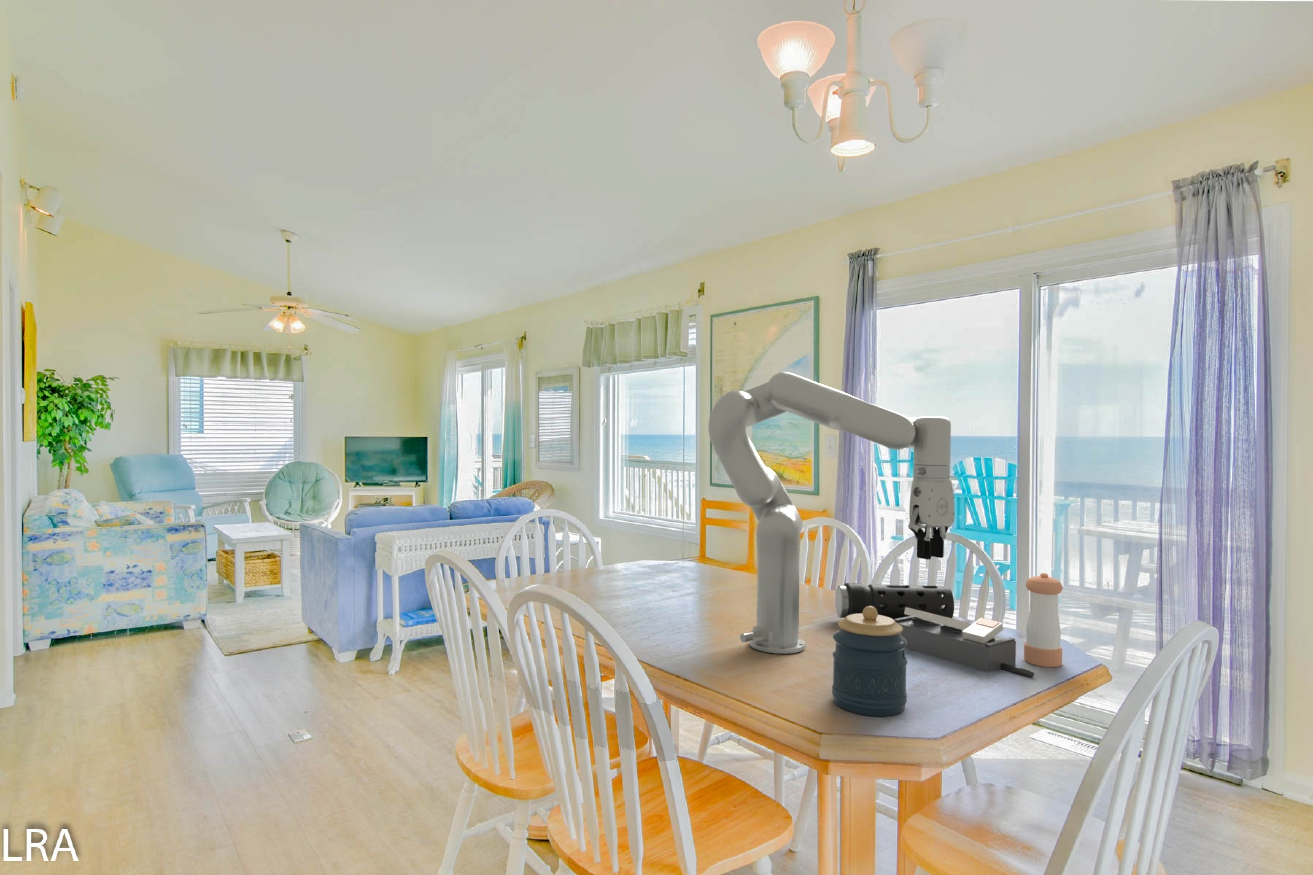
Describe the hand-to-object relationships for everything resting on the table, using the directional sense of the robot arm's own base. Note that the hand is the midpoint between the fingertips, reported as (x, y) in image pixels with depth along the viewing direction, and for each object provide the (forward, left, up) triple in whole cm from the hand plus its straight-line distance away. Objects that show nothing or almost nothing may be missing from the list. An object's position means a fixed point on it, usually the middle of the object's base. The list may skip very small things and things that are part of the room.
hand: (930, 556), depth 158 cm
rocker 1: (+8, +7, -15) cm, 19 cm away
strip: (+8, -3, -22) cm, 24 cm away
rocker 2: (+8, 0, -15) cm, 17 cm away
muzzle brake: (+18, +24, -23) cm, 38 cm away
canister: (-32, -11, -22) cm, 41 cm away
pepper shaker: (+20, -14, -22) cm, 33 cm away
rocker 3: (+8, -8, -15) cm, 19 cm away
